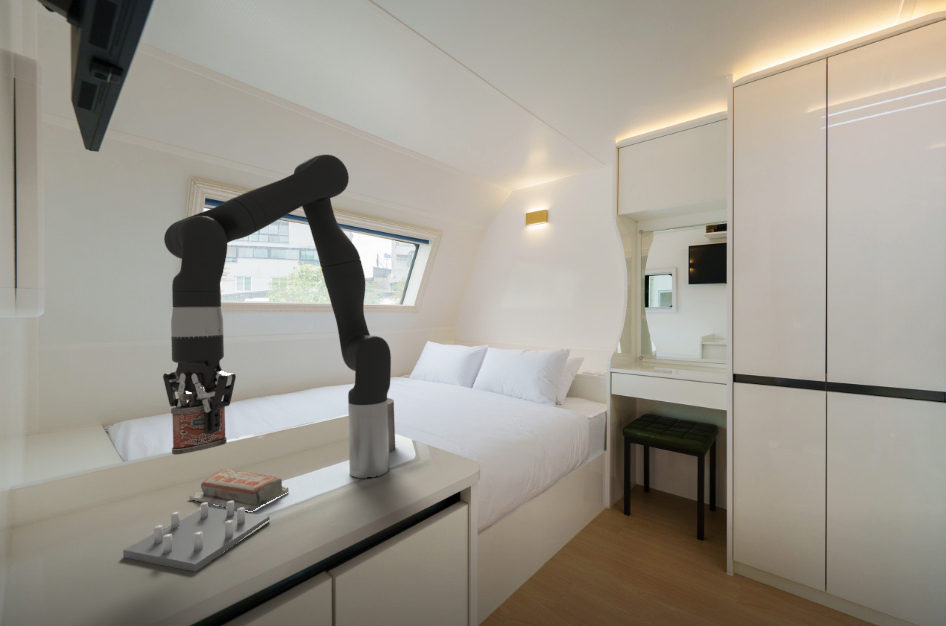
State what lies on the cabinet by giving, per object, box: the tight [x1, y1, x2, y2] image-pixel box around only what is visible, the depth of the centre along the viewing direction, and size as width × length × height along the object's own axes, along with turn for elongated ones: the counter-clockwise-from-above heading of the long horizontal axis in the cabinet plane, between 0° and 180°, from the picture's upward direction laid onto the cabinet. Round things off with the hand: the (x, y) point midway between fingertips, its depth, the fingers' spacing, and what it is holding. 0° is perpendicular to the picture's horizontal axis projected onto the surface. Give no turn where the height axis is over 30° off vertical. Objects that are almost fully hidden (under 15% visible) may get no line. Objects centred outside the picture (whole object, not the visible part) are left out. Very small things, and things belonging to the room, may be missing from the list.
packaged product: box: [188, 468, 290, 511], centre depth 88 cm, size 18×5×10 cm
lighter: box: [170, 390, 228, 456], centre depth 72 cm, size 8×3×10 cm, turn 138°
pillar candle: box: [387, 397, 396, 453], centre depth 117 cm, size 10×10×15 cm
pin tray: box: [122, 501, 271, 573], centre depth 72 cm, size 15×15×4 cm
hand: (200, 431), depth 72 cm, fingers closed on lighter, 4 cm apart
